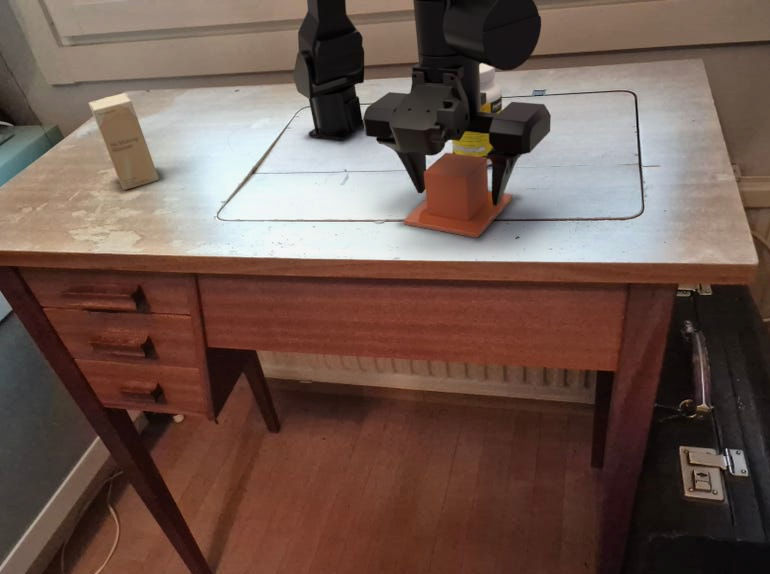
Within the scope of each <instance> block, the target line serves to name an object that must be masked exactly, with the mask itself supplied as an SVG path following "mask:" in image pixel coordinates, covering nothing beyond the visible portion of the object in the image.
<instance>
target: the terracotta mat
mask: <svg viewBox="0 0 770 574" xmlns="http://www.w3.org/2000/svg"><path fill="white" fill-rule="evenodd" d="M512 200H514V195H513V194H511V193H505V192H504V193H503V196H502V198H501V201H500V203H499V204H498V205H497V206H495V205H493V202H492V190H491V191H490V190H488V201H487V202H486V203H485V204H484V205H483V207H482V208H481V209H480V210H479V211H478V212H477V213H476V214H475V215H474V216H473V217H472V218H471V219H470V220H469V221H463V220H457V219H451V218H446V217H440V216H434V215H429V214H428V211H427V201H426V199H425V200H424V201H423V202H422V203H420V204H419V205H418V206H417V207H416V208H415V209H414V210H413V211H411V212H410V214H409V215H408V216H407V217H405V218H404V219H403V224H404V225H406V226H407V225H408V226H413V227H417V228H423V229H429V230H432V231H433V230H435V231H440V232H445V233H450V234H455V235H460V236H465V237H471V238H476V239H478V238H479V237H480V236H481V235H482V233H484V232H485V231H486V229H488V227H489V226H490V225H491V224H492V223H493V221H494V220H495V219H497V217H498V216H499V215H500V214H501V213H502V212H503V210H505V208H506V207H507V206H508V205H509V204H510V202H512Z"/></svg>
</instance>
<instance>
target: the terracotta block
mask: <svg viewBox="0 0 770 574" xmlns="http://www.w3.org/2000/svg"><path fill="white" fill-rule="evenodd" d="M488 175H489V173H488V165H487V158H485V157H477V156H469V155H461V154H453V152H452V153H451V152H444V153H443V154H442V155H441V156H440V157H439V158H438V159H437V160H435V162H433V163H432V164H431V165H430V166H429V167H428V168H426V171H424V181H425V191H424V192H425V200H426V201H427V211H428V214H429V215H434V216H440V217H446V218H451V219H457V220H463V221H469V220H470V219H471V218H472V217H473V216H474V215H475V214H476V213H477V212H478V211H479V210H480V209H481V208H482V207H483V205H484V204H485V203H486V202H487V201H488V191H489V176H488Z"/></svg>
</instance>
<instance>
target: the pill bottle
mask: <svg viewBox="0 0 770 574" xmlns="http://www.w3.org/2000/svg"><path fill="white" fill-rule="evenodd" d="M479 71H480V92H482V93H486V104H484V105H483V106H482V107H481V112H487V113H498V114H499V113H500V112H501V111H502V110H503V93H502V88H501V86H500V85H499V84H498V83H497V82H495V81H494V80H495V78H496V68H494V67H491V66H488V65H485V64H483V63H481V64H480V65H479ZM451 144H452V145H451V146H452V153H453V154H461V155H469V156H477V157H485V158H487V166H490V165H492V162H491V160H490V159H489V157H488V156H487V153H489V152H490V151H491V150H492V149H493V147H492V146H491V144H490V143H489V134H486V133H476V132H467V131H465V133H464V134H463V136H462V138H461V139H460V140H459V141H456V140H451Z"/></svg>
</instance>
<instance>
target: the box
mask: <svg viewBox="0 0 770 574" xmlns="http://www.w3.org/2000/svg"><path fill="white" fill-rule="evenodd" d="M88 105H89V108H90V110H91V112H92V115H93V118H94V120H95V123H96V125H97V128H98V130H99V133H100V135H101V138H102V140H103V143H104V145H105V148H106V151H107V153H108V156H109V158H110V161H111V163H112V167H113V169H114V171H115V174H116V176H117V179H118V181H119V184H120V186H121V187H122V190H124V191H126V190H130V189H133V188H137V187H140V186H144V185H146V184H150V183H153V182H157V181H159V180H160V178H159V175H158V171H157V169H156V166H155V164H154V161H153V158H152V154H151V153H150V150H149V147H148V144H147V141H146V139H145V136H144V133H143V130H142V127H141V124H140V121H139V119H138V116H137V112H136V110H135V107H134V105H133V102H132V99H131V98H130V96H129V94H128V93H126V92H122V93H119V94H115V95H111V96H106V97H103V98H100V99H98V100H97V99H96V100H93V101H90V102H88Z"/></svg>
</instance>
